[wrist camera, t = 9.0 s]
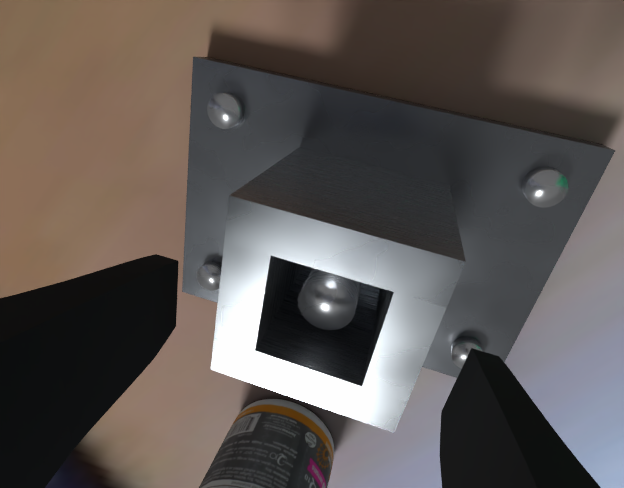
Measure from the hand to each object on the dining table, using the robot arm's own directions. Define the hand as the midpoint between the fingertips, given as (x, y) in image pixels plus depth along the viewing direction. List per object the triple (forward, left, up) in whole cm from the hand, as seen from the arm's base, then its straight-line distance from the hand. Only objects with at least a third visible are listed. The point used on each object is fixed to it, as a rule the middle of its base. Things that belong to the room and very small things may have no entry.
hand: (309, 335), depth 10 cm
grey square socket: (0, 0, -7) cm, 7 cm away
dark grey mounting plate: (0, 0, -8) cm, 8 cm away
